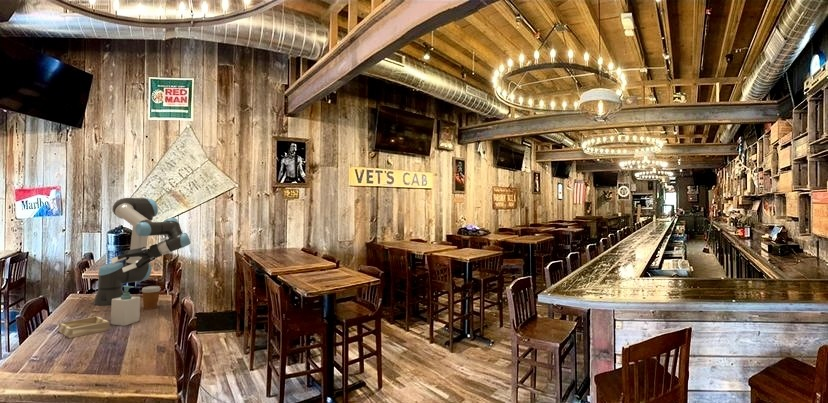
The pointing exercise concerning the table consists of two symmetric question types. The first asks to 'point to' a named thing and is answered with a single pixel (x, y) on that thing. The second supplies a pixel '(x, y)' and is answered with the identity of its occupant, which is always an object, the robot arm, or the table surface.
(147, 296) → the disposable coffee cup
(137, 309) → the soap bottle
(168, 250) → the robot arm
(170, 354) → the table surface
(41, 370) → the table surface
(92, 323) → the caddy
